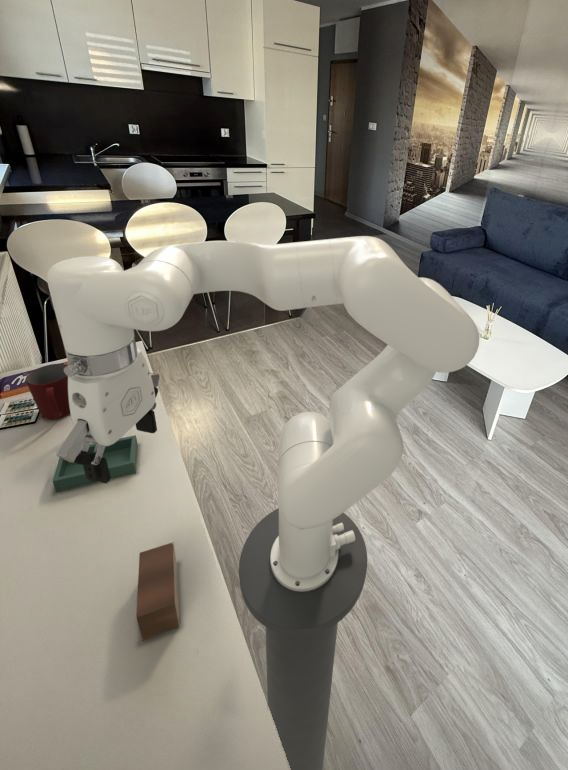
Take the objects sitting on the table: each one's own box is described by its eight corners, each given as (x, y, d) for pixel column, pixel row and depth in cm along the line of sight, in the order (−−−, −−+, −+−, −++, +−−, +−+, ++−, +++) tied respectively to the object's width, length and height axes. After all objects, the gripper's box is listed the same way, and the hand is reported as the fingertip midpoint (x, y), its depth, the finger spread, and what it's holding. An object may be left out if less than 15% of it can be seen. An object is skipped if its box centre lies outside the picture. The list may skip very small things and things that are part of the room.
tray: (137, 445, 92) (135, 435, 91) (135, 473, 85) (133, 462, 84) (64, 461, 86) (61, 450, 85) (55, 492, 79) (52, 481, 78)
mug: (82, 422, 97) (72, 385, 92) (36, 434, 92) (23, 396, 88) (80, 395, 106) (71, 360, 101) (38, 405, 101) (27, 369, 96)
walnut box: (144, 575, 67) (139, 552, 64) (177, 564, 69) (173, 541, 66) (142, 641, 58) (136, 617, 56) (179, 626, 60) (174, 603, 58)
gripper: (73, 399, 42) (102, 509, 49) (171, 327, 58) (183, 419, 65) (12, 387, 43) (49, 497, 50) (125, 319, 59) (141, 411, 66)
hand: (124, 453), depth 58 cm, fingers open, 9 cm apart
